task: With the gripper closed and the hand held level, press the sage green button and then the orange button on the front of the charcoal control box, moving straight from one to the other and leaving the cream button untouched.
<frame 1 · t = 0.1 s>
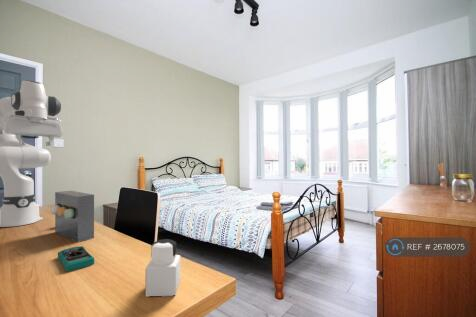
hand: (35, 145, 106), 39 cm above the table, tool pointing down, fingers open, 8 cm apart
sage button: (69, 213, 93), point 11 cm above the table, slide at 0.0 cm
control box: (73, 235, 100), on the table
medicine bottle: (163, 289, 59), on the table
digital multimeter: (75, 262, 75), on the table
cream button: (56, 209, 100), point 11 cm above the table, slide at 0.0 cm
orange button: (62, 211, 97), point 11 cm above the table, slide at 0.0 cm
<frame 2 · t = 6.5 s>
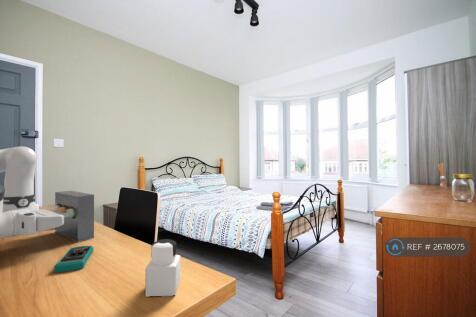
hand: (67, 213, 92), 11 cm above the table, tool horizontal, fingers closed, pressing on sage button
sage button: (71, 213, 94), point 11 cm above the table, slide at 0.7 cm, touching gripper
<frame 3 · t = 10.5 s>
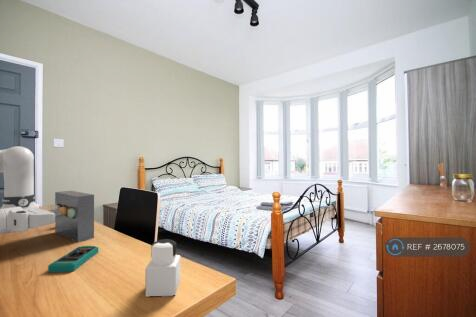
hand: (59, 212, 96), 11 cm above the table, tool horizontal, fingers closed, pressing on orange button
sage button: (72, 212, 94), point 11 cm above the table, slide at 1.2 cm
orange button: (63, 211, 97), point 11 cm above the table, slide at 0.3 cm, touching gripper
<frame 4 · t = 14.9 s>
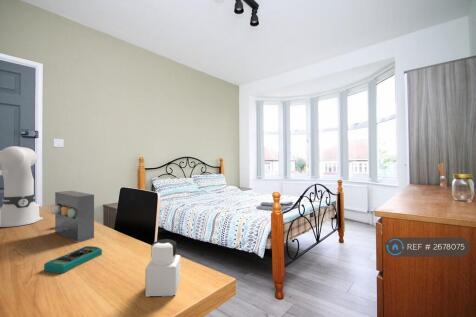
hand: (6, 172, 85), 28 cm above the table, tool horizontal, fingers closed
orange button: (65, 210, 98), point 11 cm above the table, slide at 1.2 cm
at the end: sage button slide at 1.2 cm; orange button slide at 1.2 cm; cream button slide at 0.0 cm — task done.
